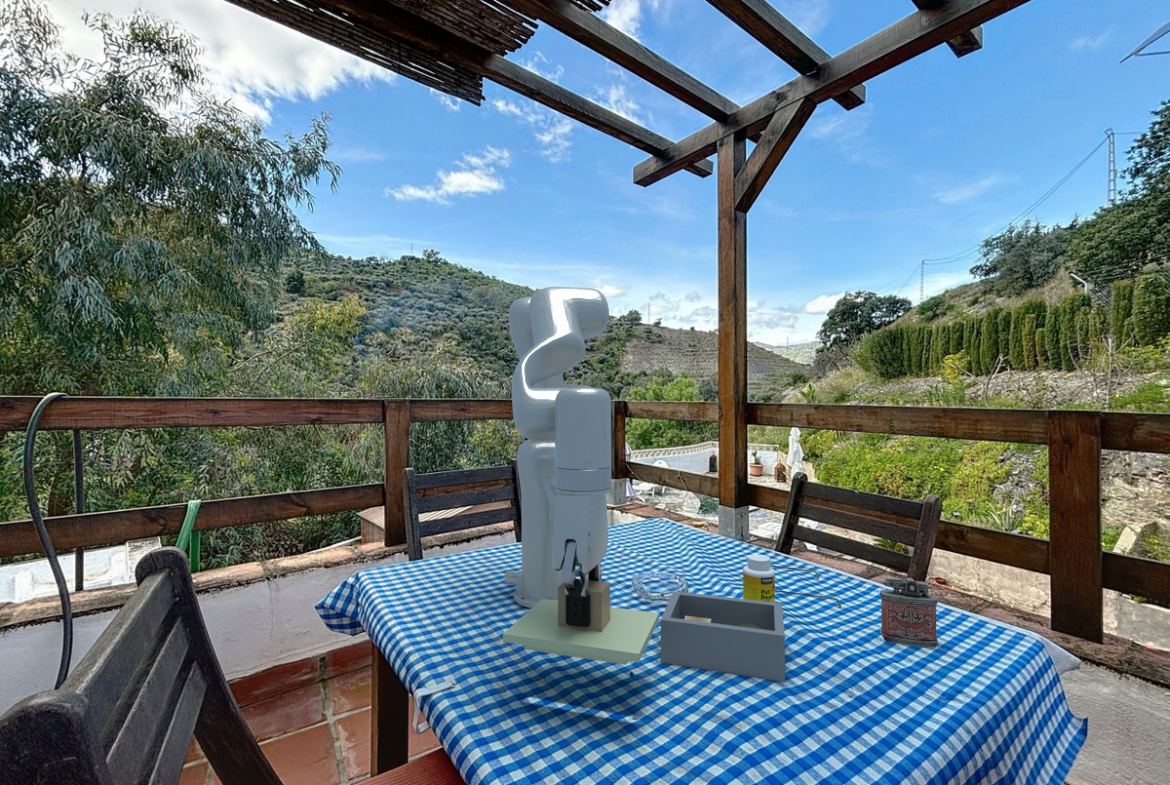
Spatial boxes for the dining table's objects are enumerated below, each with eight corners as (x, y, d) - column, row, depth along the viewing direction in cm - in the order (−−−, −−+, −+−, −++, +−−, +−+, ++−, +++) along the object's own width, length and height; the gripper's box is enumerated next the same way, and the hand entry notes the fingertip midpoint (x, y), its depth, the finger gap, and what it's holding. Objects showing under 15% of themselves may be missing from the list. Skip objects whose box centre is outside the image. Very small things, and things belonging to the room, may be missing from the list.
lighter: (934, 640, 86) (933, 578, 86) (940, 649, 83) (940, 585, 83) (878, 633, 89) (877, 573, 89) (882, 641, 85) (882, 579, 86)
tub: (660, 667, 77) (660, 619, 77) (673, 633, 89) (673, 591, 89) (785, 687, 72) (784, 636, 72) (782, 648, 83) (781, 603, 83)
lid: (503, 653, 67) (502, 594, 67) (542, 615, 79) (541, 565, 79) (639, 675, 62) (638, 610, 62) (659, 631, 74) (658, 576, 74)
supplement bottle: (761, 622, 93) (761, 563, 93) (736, 611, 98) (736, 556, 98) (781, 615, 96) (781, 558, 96) (756, 605, 101) (756, 551, 101)
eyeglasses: (747, 577, 117) (747, 555, 117) (818, 581, 115) (818, 558, 115) (758, 605, 102) (758, 579, 102) (841, 611, 99) (841, 584, 99)
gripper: (577, 471, 80) (578, 593, 80) (531, 488, 64) (532, 641, 64) (625, 473, 78) (626, 599, 77) (590, 491, 62) (591, 650, 61)
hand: (583, 616), depth 70 cm, fingers closed on lid, 4 cm apart
